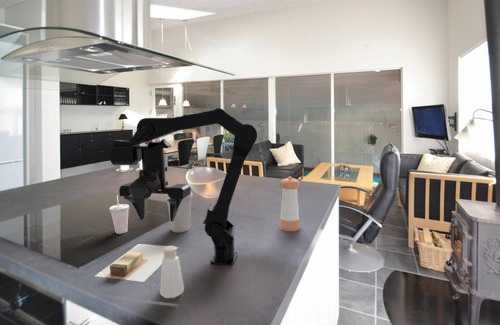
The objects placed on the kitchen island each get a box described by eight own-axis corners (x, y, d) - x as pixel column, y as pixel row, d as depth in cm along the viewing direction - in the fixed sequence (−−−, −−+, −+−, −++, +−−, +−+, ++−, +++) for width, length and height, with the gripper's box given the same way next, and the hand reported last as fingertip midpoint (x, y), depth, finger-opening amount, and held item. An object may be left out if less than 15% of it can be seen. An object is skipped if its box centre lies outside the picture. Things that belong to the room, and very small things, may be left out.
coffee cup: (165, 227, 102) (163, 188, 100) (190, 223, 106) (189, 185, 104) (169, 237, 94) (166, 194, 92) (196, 232, 98) (195, 191, 96)
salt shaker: (278, 230, 99) (278, 178, 96) (281, 223, 106) (281, 174, 103) (298, 232, 97) (299, 179, 94) (300, 224, 104) (301, 175, 101)
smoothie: (107, 235, 96) (103, 196, 94) (119, 228, 102) (116, 192, 100) (123, 237, 94) (120, 197, 92) (135, 229, 101) (132, 192, 99)
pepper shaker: (175, 302, 60) (172, 255, 58) (155, 297, 62) (151, 251, 60) (189, 288, 65) (186, 244, 63) (170, 283, 67) (167, 241, 65)
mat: (138, 244, 88) (138, 243, 88) (178, 248, 85) (178, 246, 85) (94, 277, 70) (94, 275, 70) (144, 283, 67) (143, 281, 67)
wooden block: (124, 276, 69) (123, 267, 69) (110, 275, 70) (109, 266, 69) (143, 261, 77) (142, 252, 76) (130, 260, 78) (129, 251, 77)
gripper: (101, 169, 68) (107, 229, 70) (171, 171, 64) (174, 234, 67) (129, 162, 79) (133, 214, 81) (190, 163, 75) (192, 218, 77)
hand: (157, 220), depth 76 cm, fingers open, 9 cm apart
